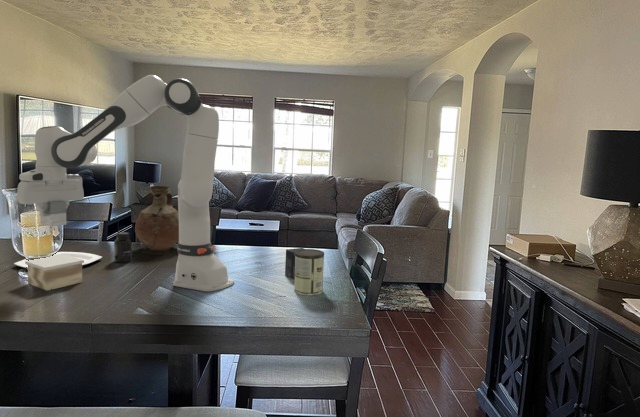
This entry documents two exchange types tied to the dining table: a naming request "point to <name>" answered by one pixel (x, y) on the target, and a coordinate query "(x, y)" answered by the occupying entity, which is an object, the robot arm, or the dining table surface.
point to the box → (290, 262)
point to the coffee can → (309, 272)
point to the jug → (158, 221)
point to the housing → (54, 213)
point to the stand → (54, 271)
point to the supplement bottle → (122, 248)
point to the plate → (84, 256)
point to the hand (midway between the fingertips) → (53, 215)
